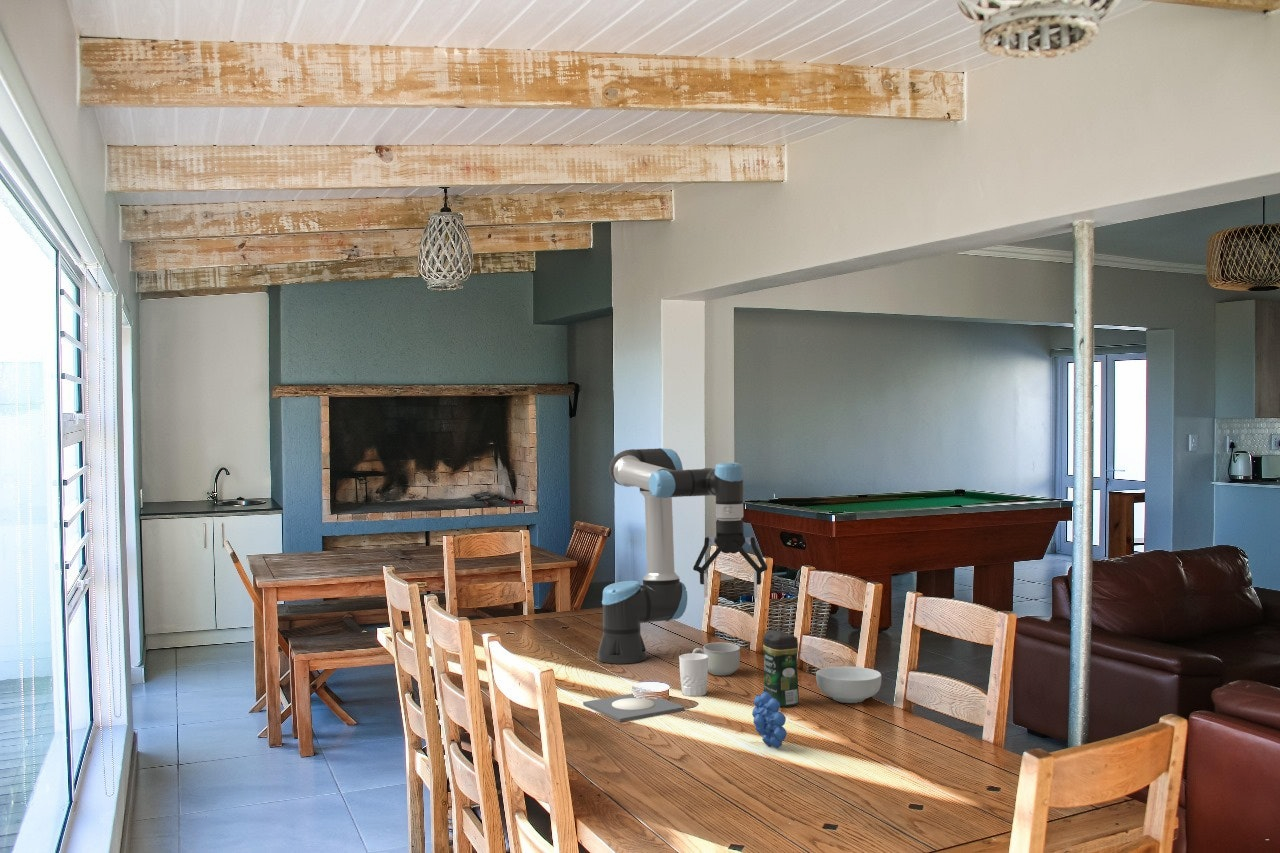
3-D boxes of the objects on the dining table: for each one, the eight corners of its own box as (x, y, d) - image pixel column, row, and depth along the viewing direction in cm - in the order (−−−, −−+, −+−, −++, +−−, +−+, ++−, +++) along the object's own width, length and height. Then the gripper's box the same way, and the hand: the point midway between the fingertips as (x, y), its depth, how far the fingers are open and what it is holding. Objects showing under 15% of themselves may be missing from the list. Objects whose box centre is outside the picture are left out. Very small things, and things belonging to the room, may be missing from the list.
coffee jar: (759, 700, 284) (758, 629, 283) (786, 697, 286) (785, 627, 286) (775, 709, 275) (774, 636, 274) (803, 706, 277) (802, 633, 277)
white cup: (677, 690, 295) (677, 653, 295) (706, 689, 296) (706, 652, 296) (681, 697, 287) (680, 660, 287) (710, 696, 288) (710, 659, 288)
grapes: (739, 742, 247) (738, 689, 247) (763, 737, 251) (763, 686, 250) (768, 755, 237) (767, 701, 237) (793, 751, 240) (792, 697, 240)
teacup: (740, 669, 318) (740, 642, 318) (740, 678, 308) (740, 650, 308) (693, 668, 320) (693, 641, 320) (691, 677, 309) (691, 649, 309)
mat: (583, 705, 281) (583, 701, 281) (645, 694, 291) (645, 690, 291) (619, 722, 265) (619, 718, 265) (684, 710, 275) (684, 706, 275)
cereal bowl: (894, 698, 284) (893, 671, 283) (860, 711, 271) (859, 683, 271) (838, 688, 295) (838, 662, 295) (803, 700, 283) (803, 673, 283)
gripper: (683, 520, 294) (684, 598, 294) (775, 520, 291) (776, 599, 291) (685, 517, 301) (686, 593, 301) (775, 517, 298) (776, 594, 298)
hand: (730, 596), depth 296 cm, fingers open, 13 cm apart
